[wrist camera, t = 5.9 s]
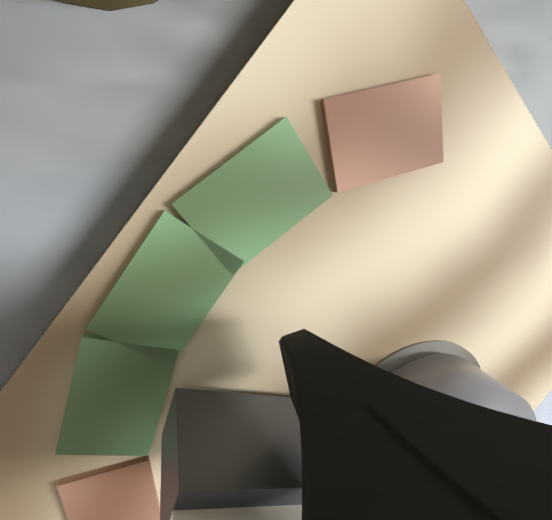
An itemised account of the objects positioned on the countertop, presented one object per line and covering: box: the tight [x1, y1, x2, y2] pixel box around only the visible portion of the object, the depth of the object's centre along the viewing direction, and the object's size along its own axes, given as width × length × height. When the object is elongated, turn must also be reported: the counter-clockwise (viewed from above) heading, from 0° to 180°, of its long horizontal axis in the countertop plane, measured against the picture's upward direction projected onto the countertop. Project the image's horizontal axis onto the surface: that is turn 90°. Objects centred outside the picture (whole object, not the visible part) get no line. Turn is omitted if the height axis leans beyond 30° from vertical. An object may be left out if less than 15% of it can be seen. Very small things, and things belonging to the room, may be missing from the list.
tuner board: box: [0, 0, 552, 520], centre depth 12 cm, size 18×20×1 cm
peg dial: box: [160, 354, 536, 520], centre depth 10 cm, size 12×6×3 cm, turn 72°
